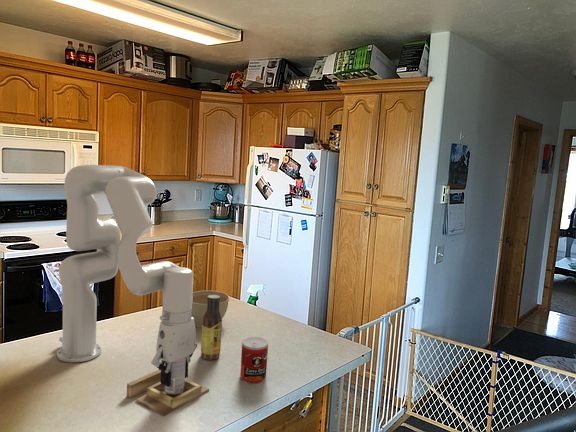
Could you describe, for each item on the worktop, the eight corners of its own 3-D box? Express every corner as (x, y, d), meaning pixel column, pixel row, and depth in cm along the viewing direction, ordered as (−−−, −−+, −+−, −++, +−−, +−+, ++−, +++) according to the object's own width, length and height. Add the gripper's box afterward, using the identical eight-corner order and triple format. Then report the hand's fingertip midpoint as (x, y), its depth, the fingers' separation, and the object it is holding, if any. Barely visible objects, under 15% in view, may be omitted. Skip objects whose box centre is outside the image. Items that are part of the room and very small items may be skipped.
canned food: (242, 385, 129) (244, 348, 127) (238, 371, 136) (240, 337, 135) (268, 383, 131) (271, 347, 129) (262, 370, 138) (265, 336, 137)
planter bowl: (183, 317, 177) (184, 291, 176) (224, 316, 182) (225, 290, 181) (186, 333, 162) (187, 304, 161) (231, 331, 167) (232, 303, 165)
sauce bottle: (216, 361, 142) (219, 301, 139) (197, 358, 143) (200, 298, 140) (223, 353, 148) (226, 295, 145) (205, 350, 149) (208, 292, 147)
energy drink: (176, 383, 124) (177, 341, 122) (188, 390, 121) (190, 347, 119) (159, 389, 120) (161, 347, 118) (171, 397, 116) (173, 353, 115)
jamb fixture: (126, 396, 119) (127, 383, 118) (173, 374, 132) (173, 362, 132) (163, 416, 111) (164, 402, 110) (208, 390, 124) (209, 378, 124)
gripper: (161, 327, 108) (158, 398, 111) (210, 310, 123) (207, 373, 125) (140, 319, 112) (138, 388, 115) (190, 304, 127) (188, 364, 129)
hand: (174, 379), depth 120 cm, fingers closed on energy drink, 5 cm apart
